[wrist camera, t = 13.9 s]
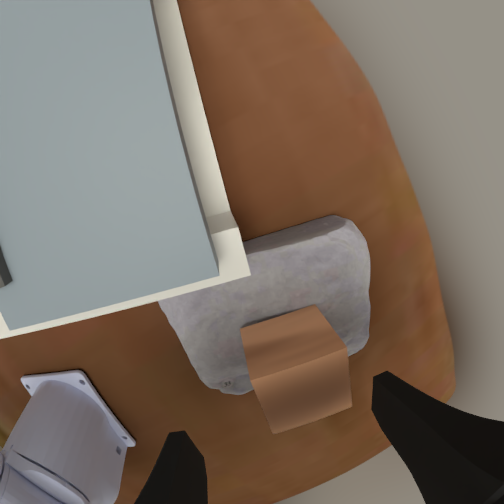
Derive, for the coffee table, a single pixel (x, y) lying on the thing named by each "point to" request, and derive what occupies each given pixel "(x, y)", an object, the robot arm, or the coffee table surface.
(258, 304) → the stone block
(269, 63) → the coffee table surface
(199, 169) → the white sliding box
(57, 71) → the slide cover
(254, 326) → the block
